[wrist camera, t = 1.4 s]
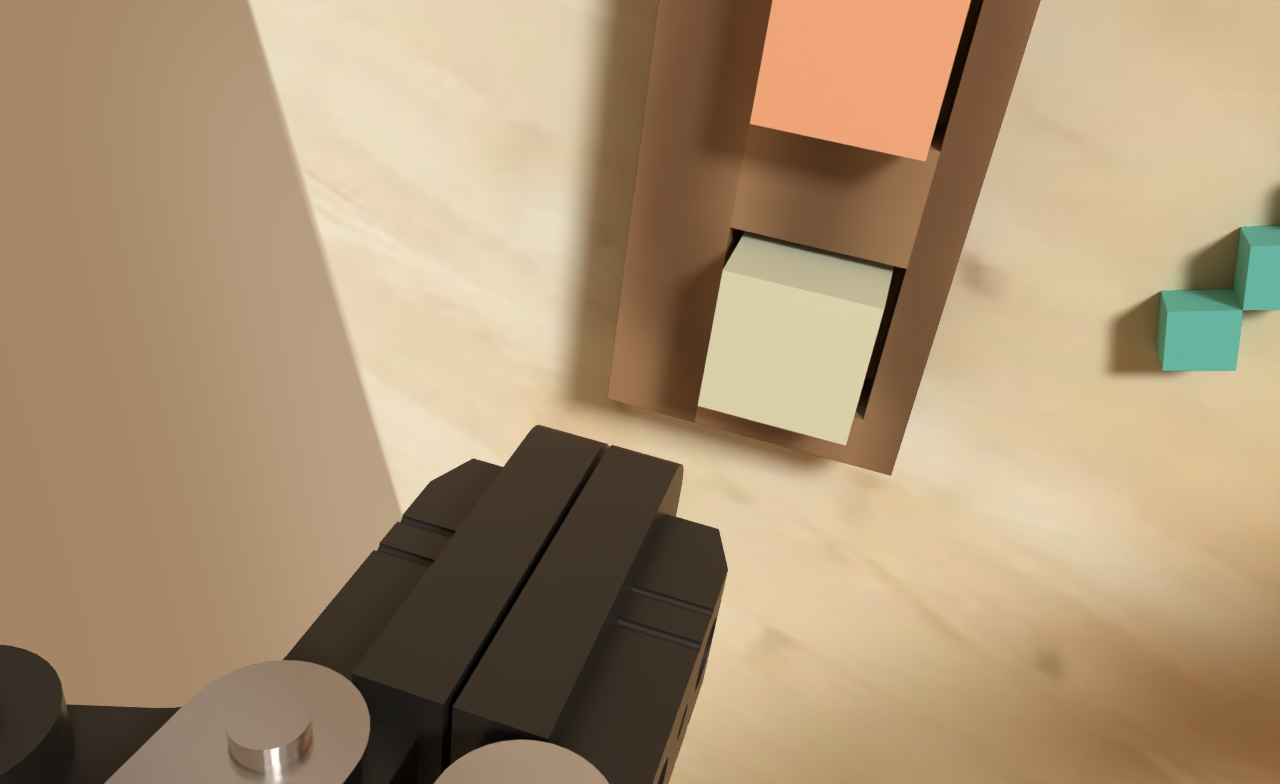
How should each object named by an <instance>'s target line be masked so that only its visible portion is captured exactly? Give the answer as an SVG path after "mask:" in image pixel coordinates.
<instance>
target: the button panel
mask: <svg viewBox="0 0 1280 784" xmlns="http://www.w3.org/2000/svg"><path fill="white" fill-rule="evenodd" d="M772 1H773V0H659V3H658V11H657V19H656V26H655V34H654V42H653V49H652V57H651V65H650V73H649V80H648V88H647V96H646V103H645V111H644V119H643V127H642V134H641V142H640V150H639V158H638V165H637V173H636V181H635V188H634V196H633V204H632V212H631V219H630V227H629V235H628V242H627V250H626V258H625V266H624V273H623V281H622V289H621V296H620V304H619V312H618V320H617V327H616V335H615V343H614V351H613V358H612V366H611V374H610V381H609V389H608V397H607V399H611V400H614V401H618V402H622V403H625V404H629V405H633V406H636V407H640V408H644V409H647V410H651V411H655V412H659V413H662V414H666V415H670V416H673V417H677V418H681V419H684V420H688V421H692V422H695V423H699V424H703V425H706V426H710V427H714V428H717V429H721V430H725V431H728V432H732V433H736V434H739V435H743V436H747V437H750V438H754V439H758V440H762V441H765V442H769V443H773V444H776V445H780V446H784V447H787V448H791V449H795V450H798V451H802V452H806V453H809V454H813V455H817V456H820V457H824V458H828V459H831V460H835V461H839V462H842V463H846V464H850V465H853V466H857V467H861V468H865V469H868V470H872V471H876V472H879V473H883V474H887V475H890V476H891V474H892V471H893V468H894V464H895V461H896V458H897V455H898V452H899V449H900V445H901V442H902V439H903V436H904V433H905V429H906V426H907V423H908V420H909V417H910V414H911V410H912V407H913V404H914V401H915V398H916V394H917V391H918V388H919V385H920V382H921V379H922V375H923V372H924V369H925V366H926V363H927V360H928V356H929V353H930V350H931V347H932V344H933V340H934V337H935V334H936V331H937V328H938V325H939V321H940V318H941V315H942V312H943V309H944V305H945V302H946V299H947V296H948V293H949V290H950V286H951V283H952V280H953V277H954V274H955V271H956V267H957V264H958V261H959V258H960V255H961V251H962V248H963V245H964V242H965V239H966V236H967V232H968V229H969V226H970V223H971V220H972V216H973V213H974V210H975V207H976V204H977V201H978V197H979V194H980V191H981V188H982V185H983V182H984V178H985V175H986V172H987V169H988V166H989V162H990V159H991V156H992V153H993V150H994V147H995V143H996V140H997V137H998V134H999V131H1000V127H1001V124H1002V121H1003V118H1004V115H1005V112H1006V108H1007V105H1008V102H1009V99H1010V96H1011V93H1012V89H1013V86H1014V83H1015V80H1016V77H1017V73H1018V70H1019V67H1020V64H1021V61H1022V58H1023V54H1024V51H1025V48H1026V45H1027V42H1028V39H1029V35H1030V32H1031V29H1032V26H1033V23H1034V19H1035V16H1036V13H1037V10H1038V7H1039V4H1040V0H971V2H970V6H969V9H968V13H967V16H966V20H965V23H964V27H963V31H962V34H961V38H960V41H959V45H958V48H957V52H956V55H955V59H954V63H953V66H952V70H951V73H950V77H949V80H948V84H947V88H946V91H945V95H944V98H943V102H942V105H941V109H940V112H939V116H938V120H937V123H936V127H935V130H934V134H933V137H932V141H931V144H930V148H929V152H928V155H927V159H926V162H925V161H920V160H916V159H911V158H906V157H902V156H897V155H892V154H888V153H883V152H879V151H874V150H869V149H865V148H860V147H855V146H851V145H846V144H841V143H837V142H832V141H828V140H823V139H818V138H814V137H809V136H804V135H800V134H795V133H790V132H786V131H781V130H777V129H772V128H767V127H763V126H758V125H753V124H750V120H751V114H752V109H753V104H754V98H755V93H756V87H757V82H758V77H759V71H760V66H761V60H762V55H763V50H764V44H765V39H766V33H767V28H768V22H769V17H770V12H771V6H772ZM745 231H748V232H752V233H756V234H760V235H765V236H769V237H773V238H777V239H782V240H786V241H790V242H794V243H799V244H803V245H807V246H811V247H816V248H820V249H824V250H828V251H833V252H837V253H841V254H845V255H850V256H854V257H858V258H862V259H867V260H871V261H875V262H879V263H884V264H888V265H892V266H894V269H893V273H892V277H891V282H890V286H889V291H888V295H887V299H886V304H885V308H884V312H883V315H882V319H881V322H880V326H879V330H878V333H877V337H876V340H875V344H874V347H873V351H872V355H871V358H870V362H869V365H868V369H867V372H866V376H865V379H864V383H863V387H862V390H861V394H860V397H859V401H858V404H857V408H856V411H855V415H854V419H853V422H852V426H851V429H850V433H849V436H848V440H847V443H846V446H845V445H842V444H838V443H834V442H831V441H827V440H823V439H819V438H816V437H812V436H808V435H805V434H801V433H797V432H793V431H790V430H786V429H782V428H778V427H775V426H771V425H767V424H764V423H760V422H756V421H752V420H749V419H745V418H741V417H738V416H734V415H730V414H726V413H723V412H719V411H715V410H711V409H708V408H704V407H700V406H698V401H699V396H700V391H701V385H702V380H703V374H704V369H705V364H706V358H707V353H708V347H709V342H710V336H711V331H712V326H713V320H714V315H715V309H716V304H717V299H718V293H719V288H720V282H721V277H722V272H723V269H724V267H725V265H726V264H727V262H728V260H729V259H730V257H731V255H732V253H733V252H734V250H735V248H736V247H737V245H738V243H739V241H740V240H741V238H742V236H743V235H744V233H745Z"/></svg>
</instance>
